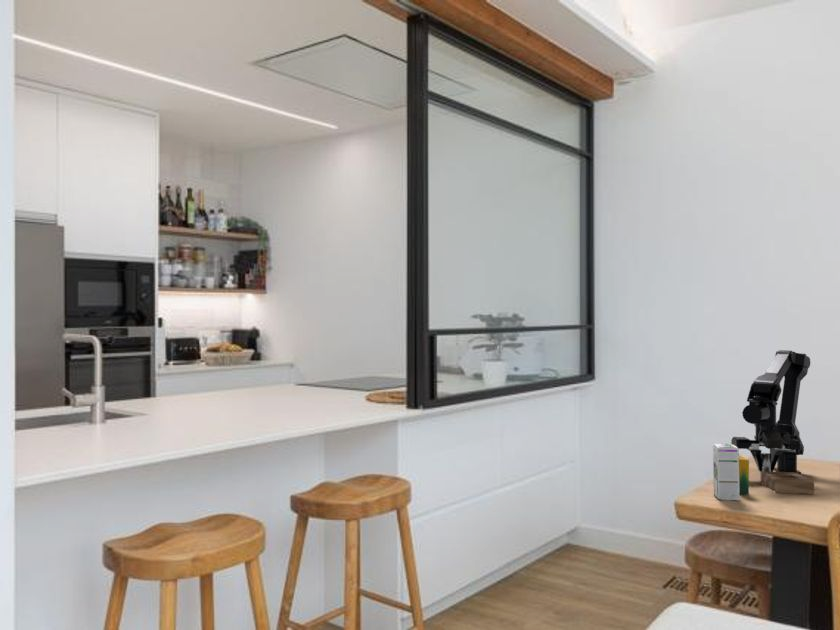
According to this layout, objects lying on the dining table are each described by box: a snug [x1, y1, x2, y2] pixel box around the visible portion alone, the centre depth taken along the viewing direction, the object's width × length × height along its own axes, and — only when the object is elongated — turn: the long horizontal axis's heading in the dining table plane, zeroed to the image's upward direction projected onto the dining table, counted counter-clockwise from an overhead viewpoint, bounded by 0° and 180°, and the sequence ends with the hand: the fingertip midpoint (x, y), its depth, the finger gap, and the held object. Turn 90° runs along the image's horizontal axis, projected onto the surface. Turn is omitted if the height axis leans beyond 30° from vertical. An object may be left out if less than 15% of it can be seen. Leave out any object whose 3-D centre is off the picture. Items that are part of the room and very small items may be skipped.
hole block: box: [760, 471, 815, 495], centre depth 203 cm, size 12×10×4 cm
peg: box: [759, 452, 771, 480], centre depth 214 cm, size 3×3×8 cm
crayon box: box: [739, 455, 750, 495], centre depth 199 cm, size 7×3×12 cm, turn 173°
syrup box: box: [712, 443, 740, 502], centre depth 192 cm, size 6×6×14 cm
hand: (765, 471), depth 214 cm, fingers closed on peg, 3 cm apart
